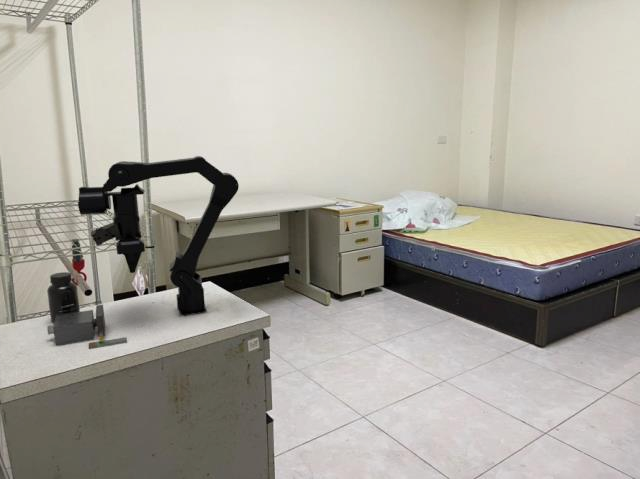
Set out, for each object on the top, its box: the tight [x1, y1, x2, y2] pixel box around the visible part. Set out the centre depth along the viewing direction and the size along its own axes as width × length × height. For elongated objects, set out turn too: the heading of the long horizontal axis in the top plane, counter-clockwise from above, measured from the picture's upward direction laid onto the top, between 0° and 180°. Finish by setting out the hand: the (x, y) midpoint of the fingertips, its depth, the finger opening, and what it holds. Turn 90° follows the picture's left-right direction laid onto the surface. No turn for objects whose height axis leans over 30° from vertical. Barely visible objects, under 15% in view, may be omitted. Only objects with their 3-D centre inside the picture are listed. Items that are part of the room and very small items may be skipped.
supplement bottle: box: [47, 271, 81, 323], centre depth 123 cm, size 7×7×12 cm
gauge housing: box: [53, 309, 128, 350], centre depth 113 cm, size 15×13×4 cm
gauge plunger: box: [46, 304, 106, 342], centre depth 112 cm, size 12×13×5 cm
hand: (132, 272), depth 123 cm, fingers closed
